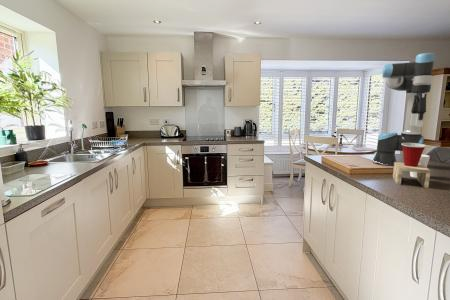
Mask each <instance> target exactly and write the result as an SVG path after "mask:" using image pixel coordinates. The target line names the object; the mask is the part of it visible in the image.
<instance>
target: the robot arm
mask: <svg viewBox="0 0 450 300" xmlns="http://www.w3.org/2000/svg"><path fill="white" fill-rule="evenodd" d="M414 60H415V61H413V62H412V61H411V62H399V63H387V64H384V65H383V67H382V73H381V75H382V78H384V79H386V80H385V84H386V86H387V87H388V88H390V89H391V90H394V91H399V92H400V91H401V92H405V94H406V95H407V96H408V97H407V106H406V112H405V122H404V130H403V131H401V133H400V134H398V132H383V133H380V134H378V136H377V137H378V138H377V145H376V146H377V147H376V153H375V155H374V157H373V159H372V161H373V160H374V161H377V162H380V163H383V164H388V165H387V166H389V165H394V162H398V161H397V157H396V151H397V152H403V148H402V145H401V143H418V144H423V145H424V140H425V137H424V135H422V132H421V131H420V130H421V127H424V122H425V121H424V120H425V113H426V112H427V95H428V94H429V93H430V92H431V89H432V80H433V71H434V70H433V69H434V66H435V65H434V62H435V53H434V52H424V53H419V54H417V55H416V56H415V59H414Z"/></svg>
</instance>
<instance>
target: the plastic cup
mask: <svg viewBox="0 0 450 300" xmlns="http://www.w3.org/2000/svg"><path fill="white" fill-rule="evenodd" d="M401 145H402V148H403V151H402V154H403V163H404V165H406V166H412V167H417V165H418V163H419V161H420V158H421V155H423V152H424V150H425V148H426V147H427V145H426V144H424V143H423V144H418V143H401Z"/></svg>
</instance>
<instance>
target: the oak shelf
mask: <svg viewBox="0 0 450 300" xmlns="http://www.w3.org/2000/svg"><path fill="white" fill-rule="evenodd" d="M403 172H409V173H410V172H417V178H416V181H418V183H420V185H422V187H423V188H427V189H429V187H430V186H429V185H430V178H431V177H430V176H431V172H432V171H431V170H430V169H429V168H428V167H425V166H424V165H422V164H418V165H417V167H412V166H406V165H404V162H398V161H397V162H394V166H393V170H392V178H393V180H394V182H395V183H396V185H400V186H401V185H402V178H403Z"/></svg>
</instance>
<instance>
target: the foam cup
mask: <svg viewBox="0 0 450 300" xmlns="http://www.w3.org/2000/svg"><path fill="white" fill-rule="evenodd" d="M430 158H431V157H430V155H428V154H422V155H421V158H420V161H419V163H418V164H422V165H424V166H425V167H426V168H428V164H429V161H430ZM409 175H410V177H411V178H415V179H417V172H409Z"/></svg>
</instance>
